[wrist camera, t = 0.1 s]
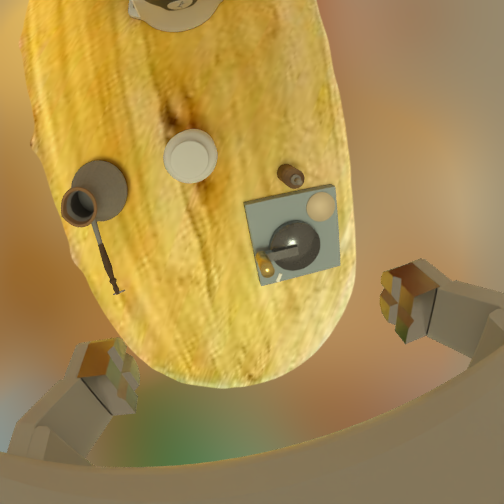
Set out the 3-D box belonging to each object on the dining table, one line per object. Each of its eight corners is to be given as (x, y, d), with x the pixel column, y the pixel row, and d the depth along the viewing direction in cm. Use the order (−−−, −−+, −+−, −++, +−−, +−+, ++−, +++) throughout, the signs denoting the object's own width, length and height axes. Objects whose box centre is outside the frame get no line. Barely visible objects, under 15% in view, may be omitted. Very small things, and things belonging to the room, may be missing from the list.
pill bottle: (200, 119, 48) (199, 119, 35) (223, 156, 52) (230, 170, 39) (162, 143, 49) (148, 153, 36) (186, 179, 53) (180, 201, 39)
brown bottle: (275, 165, 54) (288, 174, 46) (292, 162, 55) (308, 170, 47) (278, 182, 56) (291, 194, 48) (295, 179, 56) (310, 190, 48)
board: (243, 202, 56) (245, 205, 54) (331, 184, 58) (335, 186, 55) (259, 281, 65) (261, 287, 62) (336, 261, 66) (341, 266, 64)
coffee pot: (68, 173, 48) (31, 193, 34) (117, 148, 48) (89, 159, 34) (112, 265, 57) (92, 307, 44) (160, 247, 58) (149, 287, 44)
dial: (249, 230, 57) (256, 248, 50) (314, 215, 58) (330, 230, 50) (258, 274, 61) (265, 296, 54) (318, 259, 62) (333, 278, 55)
